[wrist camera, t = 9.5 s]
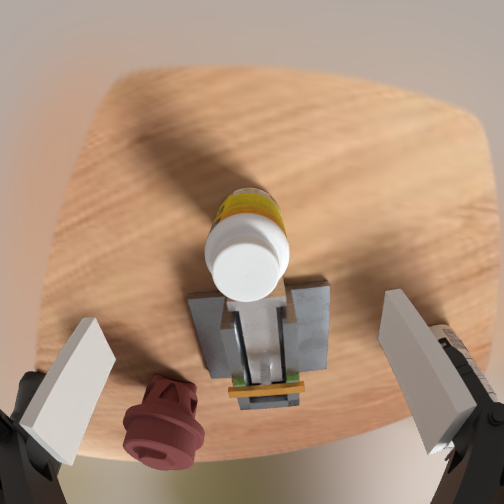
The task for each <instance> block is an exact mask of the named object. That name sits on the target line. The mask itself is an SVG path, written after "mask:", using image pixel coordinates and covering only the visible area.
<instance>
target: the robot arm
mask: <svg viewBox="0 0 504 504" xmlns="http://www.w3.org/2000/svg"><path fill="white" fill-rule="evenodd" d="M378 340H379V342H380V344H381V346H382V348H383V350H384V353H385V355H386V357H387V359H388V361H389V363H390V365H391V368H392V370H393V372H394V374H395V376H396V379H397V381H398V383H399V385H400V388H401V390H402V392H403V395H404V397H405V399H406V402H407V404H408V406H409V409H410V411H411V413H412V416H413V418H414V421H415V423H416V426H417V428H418V431H419V433H420V436H421V438H422V441H423V443H424V446H425V449H426V451H427V454H428V455H430V454H432V453H435V452H438V451H440V450H443V449H445V448H446V447H447V446H448V445H449V443H450V442H451V441H452V442H453V444H454V446H455V447H454V448H453V449H452V451H451V452H450V453H449V454H448V455H447V457H446V458H445V461H447V460H448V459H449V461H448V464H447V466H446V469H445V472H444V474H443V476H442V479H441V481H440V484H439V486H438V488H437V491H436V493H435V495H434V497H433V499H432V501H431V503H430V504H504V404H502V403H500V402H494V401H493V400H492V399H491V397H490V396H489V394H488V392H487V391H486V389H485V387H484V386H483V384H482V383H481V381H480V379H479V378H478V376H477V375H476V373H475V372H474V370H473V369H472V367H471V366H470V365H469V363H468V361H467V360H466V358H465V357H464V355H463V354H462V353H461V352H460V351H459V350H457V349H456V348H455V347H453V346H450V347H447V348H444V349H443V348H442V346H441V345H440V343H439V342H438V340H437V339H436V337H435V336H434V334H433V333H432V332H431V330H430V329H429V327H428V326H427V324H426V323H425V321H424V320H423V318H422V317H421V316H420V314H419V313H418V311H417V310H416V309H415V307H414V306H413V304H412V303H411V302H410V300H409V299H408V298H407V296H406V295H405V293H404V292H403V291H402V289H395V290H388V291H385V298H384V305H383V312H382V318H381V324H380V330H379V336H378ZM115 360H116V358H115V357H114V355H113V353H112V351H111V349H110V347H109V345H108V343H107V341H106V339H105V337H104V335H103V332H102V330H101V328H100V326H99V324H98V322H97V320H96V317H83V319H82V320H81V321H80V323H79V324H78V326H77V327H76V329H75V330H74V332H73V333H72V335H71V336H70V338H69V339H68V341H67V342H66V344H65V345H64V347H63V349H62V350H61V352H60V353H59V355H58V356H57V358H56V360H55V361H54V363H53V364H52V366H51V368H50V369H49V371H48V373H47V374H46V375H43V374H41V373H38V372H33V371H31V372H30V371H29V372H26V373H25V374H24V376H23V377H22V379H21V380H20V383H19V390H18V394H17V398H16V403H15V408H14V411H13V413H12V415H11V416H10V418H9V417H8V416H7V415H6V414H5V413H4V412H3V411H2V410H1V409H0V504H67V503H66V500H65V497H64V495H63V492H62V490H61V487H60V485H59V481H58V479H57V475H58V472H59V470H60V467H61V464H62V463H64V464H67V465H70V466H72V465H73V462H74V460H75V457H76V454H77V451H78V449H79V446H80V443H81V441H82V438H83V436H84V433H85V430H86V428H87V425H88V423H89V420H90V418H91V415H92V413H93V411H94V408H95V406H96V403H97V401H98V399H99V396H100V394H101V392H102V389H103V387H104V385H105V383H106V380H107V378H108V376H109V374H110V371H111V369H112V367H113V365H114V363H115Z"/></svg>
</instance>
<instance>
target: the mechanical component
mask: <svg viewBox="0 0 504 504" xmlns="http://www.w3.org/2000/svg"><path fill="white" fill-rule="evenodd" d="M196 389H197V387H196V386H195V385H194V384H192V383H182V382H176V381H173V380H170V379H167V378H165V377H163V376H161V375H154V376H153V378H152V381H151V383H150V384H149V385H148V386H147V388H146V391H145V394H144V398H143V401H142V404H140V405H135V406H132V407H130V408H129V409H128V410H127V411H126V413H125V416H124V419H123V425H124V427H125V429H126V431H127V433H126V436H125V439H124V442H123V447H124V449H125V451H126V452H127V453H128V454H130V455H131V456H132V457H134V458H135V459H137V460H138V461H140V462H142V463H143V464H145V465H147V466H148V467H151V468H154V469H158V470H183V469H188V468H190V467H192V465H193V463H194V457H195V450H198V449H199V448H201V447H202V445H203V443H204V436H205V432H204V429H203V427H202V426H201V425H200V424H199V423H198V422H197V421H196V420H195V414H196V408H197V402H198V399H197V396H196Z"/></svg>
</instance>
